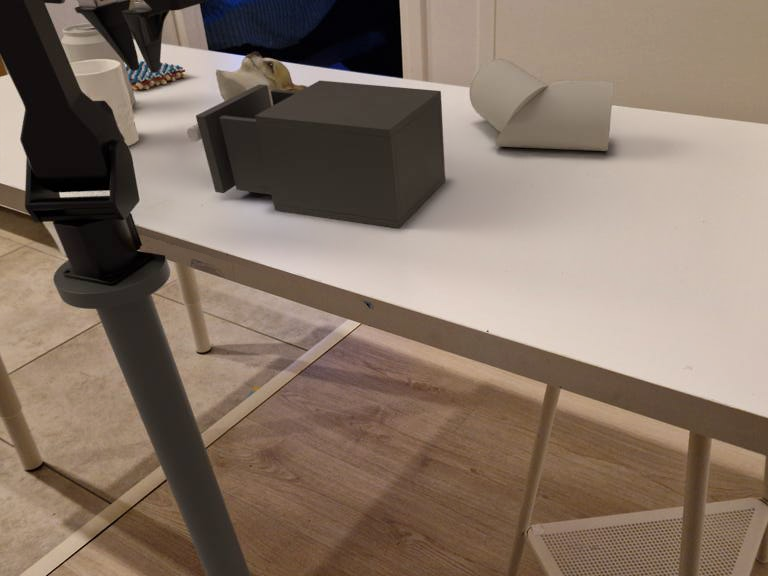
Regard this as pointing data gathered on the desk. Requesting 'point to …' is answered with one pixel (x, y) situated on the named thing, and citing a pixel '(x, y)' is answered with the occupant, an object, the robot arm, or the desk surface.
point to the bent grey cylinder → (542, 108)
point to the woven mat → (153, 75)
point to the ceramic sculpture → (256, 77)
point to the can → (91, 48)
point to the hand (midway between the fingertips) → (145, 70)
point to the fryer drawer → (236, 140)
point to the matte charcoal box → (354, 151)
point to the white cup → (108, 91)
